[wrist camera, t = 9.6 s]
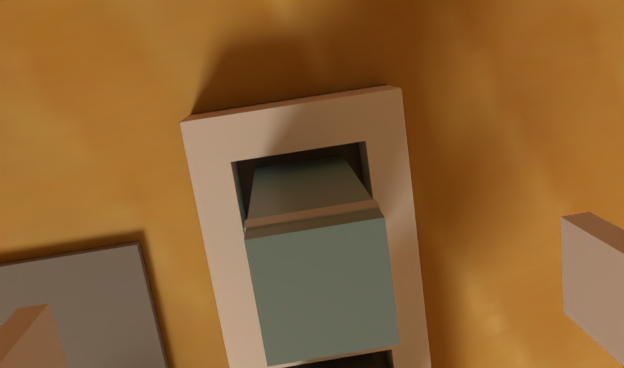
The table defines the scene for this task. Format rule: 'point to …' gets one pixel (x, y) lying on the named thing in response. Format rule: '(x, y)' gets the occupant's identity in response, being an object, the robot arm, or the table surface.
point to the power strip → (292, 148)
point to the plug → (318, 262)
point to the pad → (91, 304)
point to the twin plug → (343, 362)
